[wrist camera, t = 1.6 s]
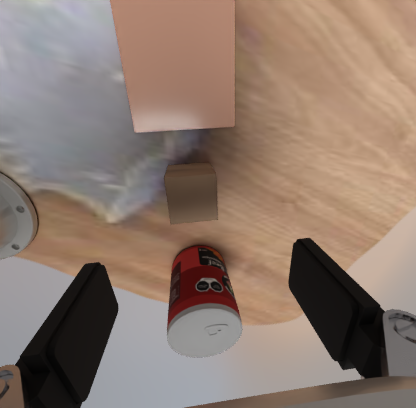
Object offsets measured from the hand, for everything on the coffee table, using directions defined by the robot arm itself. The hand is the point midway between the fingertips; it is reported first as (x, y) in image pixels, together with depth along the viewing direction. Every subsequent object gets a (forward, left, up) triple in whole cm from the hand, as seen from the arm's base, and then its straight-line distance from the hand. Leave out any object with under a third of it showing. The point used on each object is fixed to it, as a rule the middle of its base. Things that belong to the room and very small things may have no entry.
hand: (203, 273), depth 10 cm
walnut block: (0, 0, -17) cm, 17 cm away
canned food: (-12, -6, -17) cm, 22 cm away
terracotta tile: (+12, +6, -17) cm, 21 cm away
